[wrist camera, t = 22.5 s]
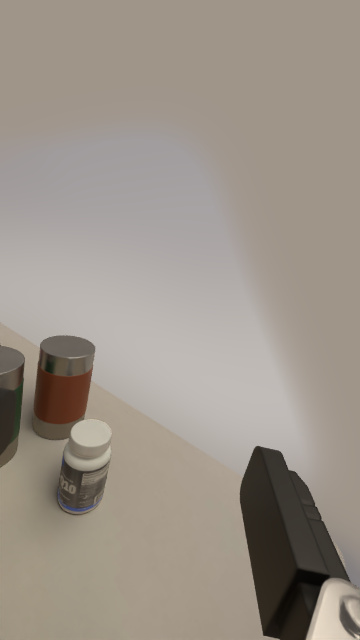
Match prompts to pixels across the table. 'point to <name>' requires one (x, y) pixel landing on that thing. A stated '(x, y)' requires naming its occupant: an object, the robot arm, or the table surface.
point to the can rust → (62, 385)
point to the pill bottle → (85, 466)
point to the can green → (7, 372)
